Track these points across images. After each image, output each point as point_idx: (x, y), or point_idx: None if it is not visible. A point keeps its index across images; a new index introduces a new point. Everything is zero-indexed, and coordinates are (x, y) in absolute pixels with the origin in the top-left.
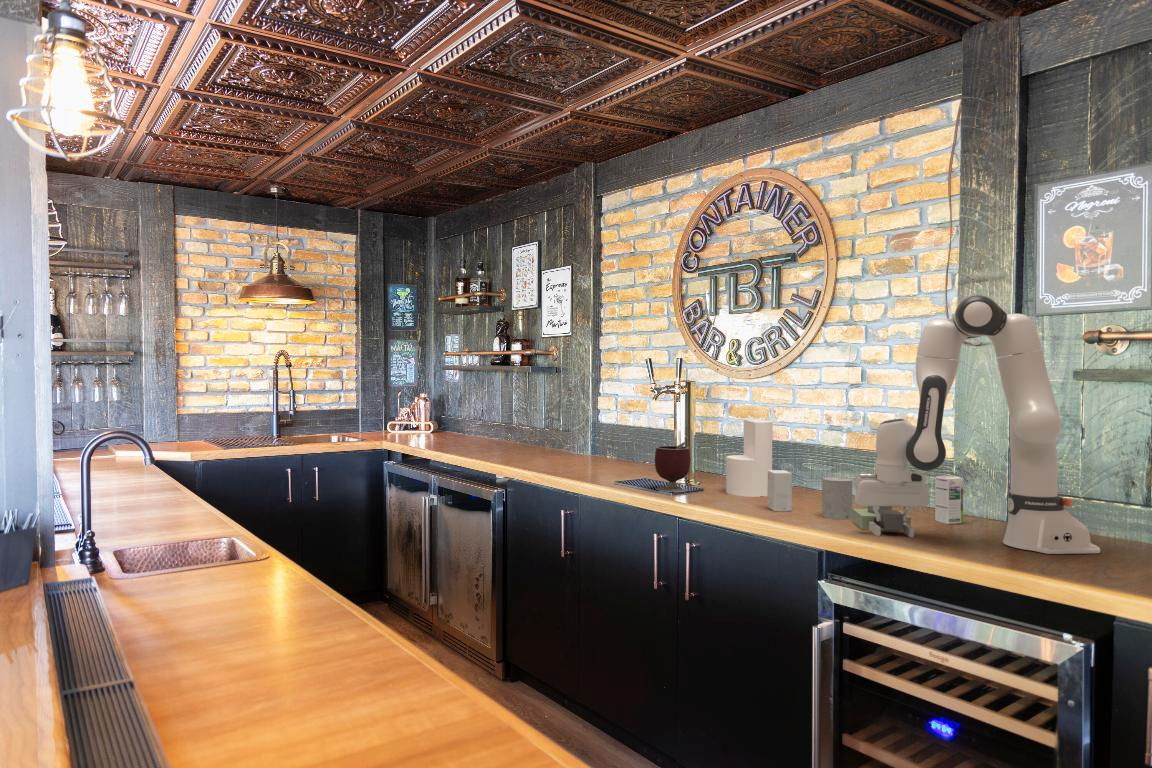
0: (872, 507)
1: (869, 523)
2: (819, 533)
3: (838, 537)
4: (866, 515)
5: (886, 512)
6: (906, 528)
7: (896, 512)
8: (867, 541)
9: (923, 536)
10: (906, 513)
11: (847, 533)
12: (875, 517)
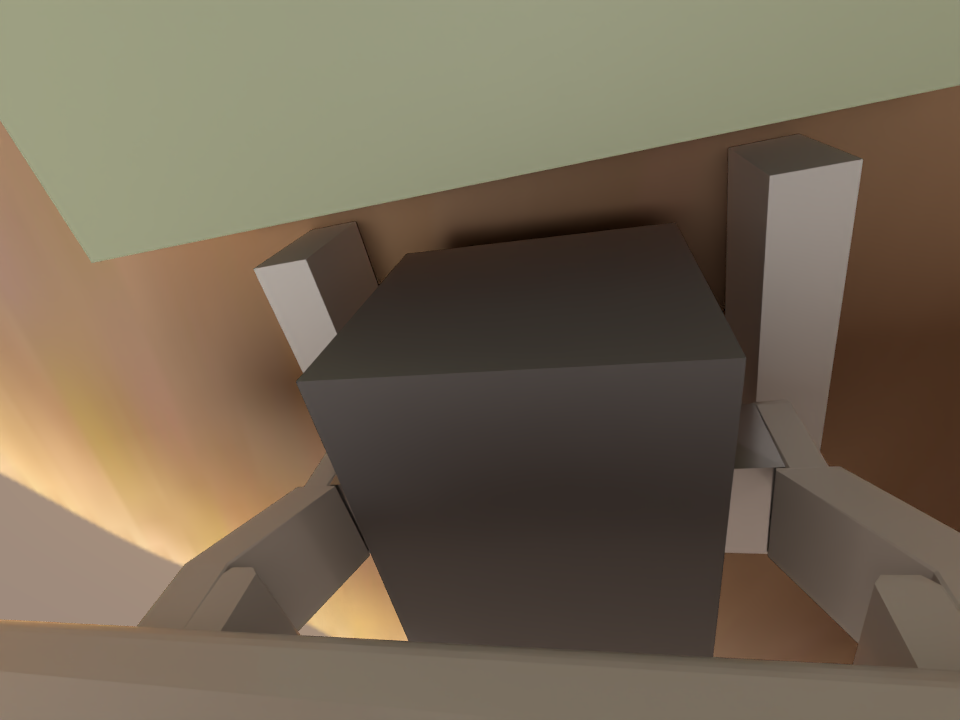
0: (171, 586)
1: (275, 285)
2: (31, 465)
3: (183, 544)
4: (128, 187)
5: (444, 615)
6: None
7: (624, 607)
8: (367, 608)
9: (922, 401)
10: (833, 607)
11: (183, 428)
12: (296, 219)
